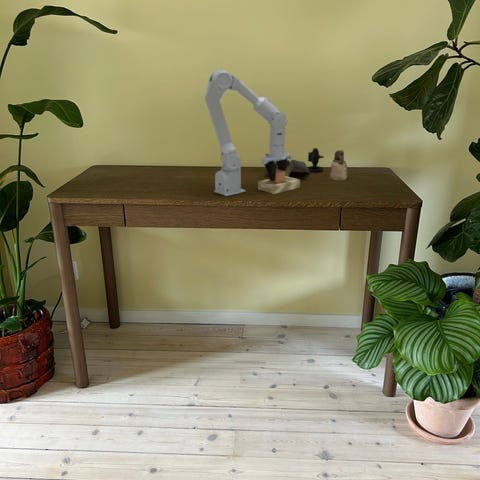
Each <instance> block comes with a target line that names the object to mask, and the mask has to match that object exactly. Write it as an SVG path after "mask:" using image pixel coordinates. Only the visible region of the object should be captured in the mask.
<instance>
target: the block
mask: <svg viewBox="0 0 480 480" xmlns="http://www.w3.org/2000/svg"><path fill="white" fill-rule="evenodd" d="M284 181H285V171H282V170H279V169H278V168H276V173H275V181H270V183H273V184H280V183H284Z"/></svg>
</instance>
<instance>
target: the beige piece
mask: <svg viewBox="0 0 480 480" xmlns="http://www.w3.org/2000/svg"><path fill="white" fill-rule="evenodd" d="M299 188H301V179H298V178H294V177H290V176H289V177H287V176H285V181H284V183H280V184H273V183H270V179H269V178H267V179H264V180H258V181H257V190H259V191H263V192H266V193H269V194H272V195H275V194H279V193H283V192H287V191H291V190H295V189H299Z"/></svg>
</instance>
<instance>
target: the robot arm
mask: <svg viewBox="0 0 480 480" xmlns="http://www.w3.org/2000/svg"><path fill="white" fill-rule="evenodd" d="M227 90H230V91H231V90H232V91H236V92H237V93H239V94H240V95H241V96H243V98H245V100H247V101H248V102H250V103H251V104H252V105H253V111H255V113H257V114H258V115H260V116H261V118H262V119H264V120H265V121H267V123H268V124H269V153H268V154H269V156H265V157H262V158H260V164H261V165H264V167H265V169H266V172H267V174H268V179H270V181H275V173H276V169H279V170H282V171H286V168H287V166H288V165H289V163H290V162H291V159H292V160H293V153H290V152H287V153H285V149H286V148H285V146H286V126H287V125H288V119H287V115H286V114H285V113H283V112H281V111H280V108H279V107H278V106H275V105H274V104H273V103H271V102H270V101H271V99H269V97H265V96H261V97H259V96H258V95H257V94H256V93H255V92H254V91H252V89H251V88H250V87H248V86H247V84H245V83H244V82H243V81H242V80H240V79H239V78H238V77H236V76H235V75H233V74H231V73H230V72H229V71H228V70H225V69H224V70H223V69H216V70H215V71H213V72H212V73H211V75H210V77H209V78H208V81H207V86H206V91H205V95H204V100H205V102H206V103H205V104H206V106H207V109H208V111H209V113H208V114H209V116H210V117H211V118H210V119H211V122H212V125H213V127H214V131H215V134H216V136H217V137H216V138H217V139H218V140H217V141H218V143H219V148H220V151H221V153H220V160H221V162H222V163H223V164H222V166H221V169H220V170H217V172H215V174H214V182H215V183H214V185H215V187H214V189H215V190H213V192H214V193H216V194H220V195H222V196H224V197H229V196H233V195H236V194H237V195H238V194H241V193H242V194H243V193H245V192H246V190H245V189H242V180H241V179H242V177H241V176H242V170H241V169H242V167H241V165H242V158H241V156H240V154H239V153H238V152H237V151H236V150H237V149H236V147H235V145H234V143H233V141H232V140H233V139H232V137H231V134H230V130H229V128H228V123H227V120H226V118H225V115H224V111H223V107H222V104H221V101H220V100H221V98H222V97H223V96H224V94H225V92H226V91H227ZM275 161H276V162H277V164H275V163H274V162H275Z"/></svg>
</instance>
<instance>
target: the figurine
mask: <svg viewBox="0 0 480 480" xmlns="http://www.w3.org/2000/svg"><path fill="white" fill-rule="evenodd" d="M330 164H331V165H330V171H329V172H330V173H329V179H330V180H333V181H339V182H341V181H346V180H347V179H348V165H347V161H346V160H345V151H344V150H342V149H338V150H336V151H335V152H334V157H333V160H332V163H330Z"/></svg>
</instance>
